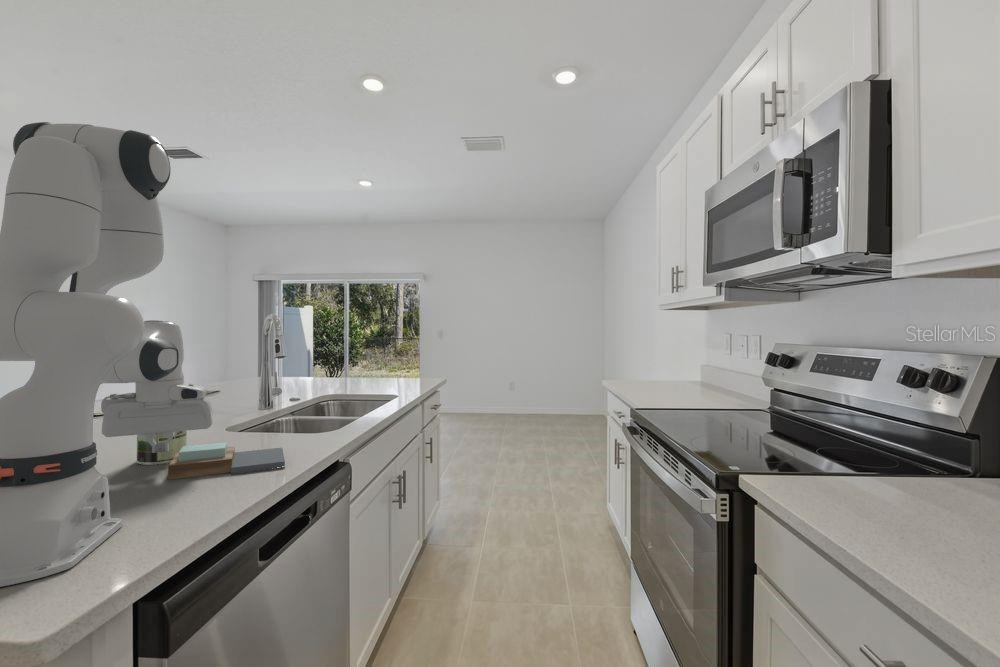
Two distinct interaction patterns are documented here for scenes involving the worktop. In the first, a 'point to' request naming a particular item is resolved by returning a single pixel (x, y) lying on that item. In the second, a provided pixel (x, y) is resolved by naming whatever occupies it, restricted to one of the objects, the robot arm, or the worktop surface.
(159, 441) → the coffee can
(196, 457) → the block
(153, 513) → the worktop surface
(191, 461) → the brown square plate
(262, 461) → the grey flat slab
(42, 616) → the worktop surface
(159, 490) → the worktop surface
